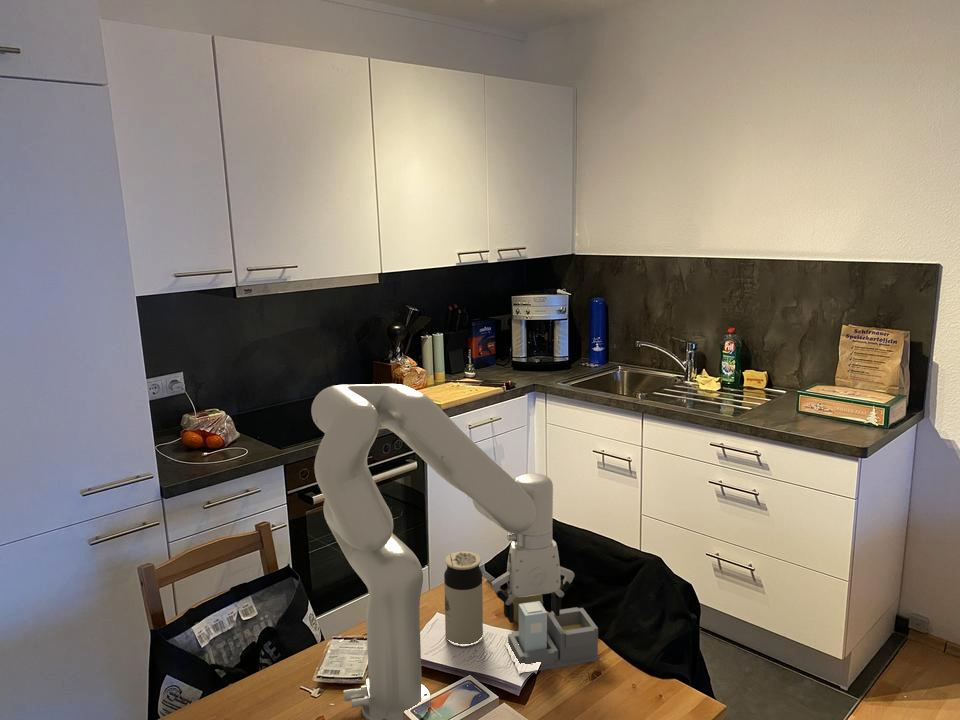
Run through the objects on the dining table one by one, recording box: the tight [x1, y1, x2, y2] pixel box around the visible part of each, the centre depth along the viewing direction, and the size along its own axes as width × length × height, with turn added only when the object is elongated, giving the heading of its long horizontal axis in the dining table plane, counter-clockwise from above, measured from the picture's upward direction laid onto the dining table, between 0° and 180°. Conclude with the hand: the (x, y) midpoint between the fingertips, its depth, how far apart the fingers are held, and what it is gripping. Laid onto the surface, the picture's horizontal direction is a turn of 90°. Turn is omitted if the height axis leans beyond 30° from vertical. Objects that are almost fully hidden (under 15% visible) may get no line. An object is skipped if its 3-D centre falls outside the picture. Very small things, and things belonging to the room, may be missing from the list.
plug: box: [518, 601, 548, 653], centre depth 144 cm, size 4×5×10 cm
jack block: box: [507, 606, 600, 672], centre depth 145 cm, size 17×10×6 cm, turn 104°
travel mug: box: [443, 550, 484, 644], centre depth 150 cm, size 8×8×18 cm
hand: (532, 615), depth 143 cm, fingers open, 9 cm apart
